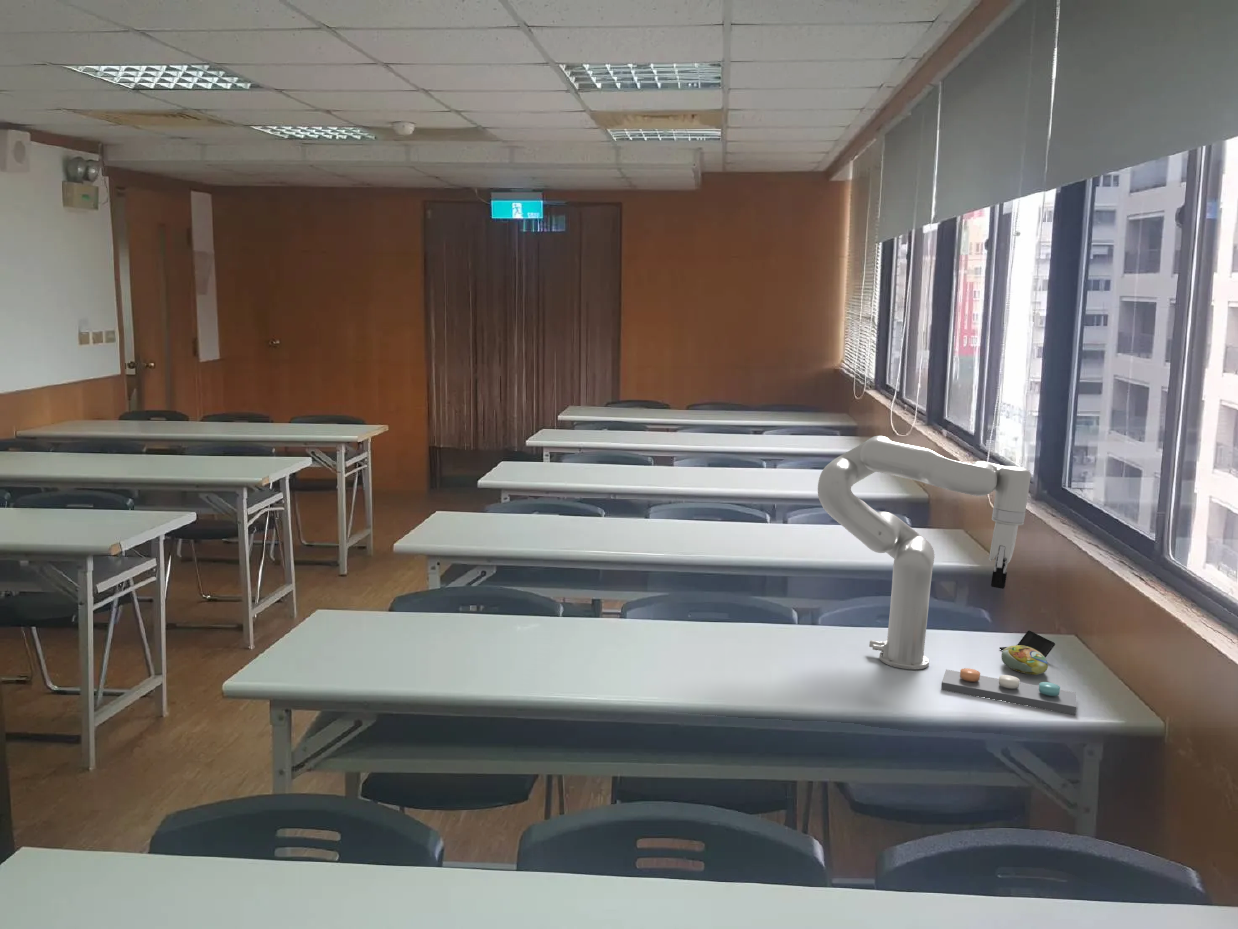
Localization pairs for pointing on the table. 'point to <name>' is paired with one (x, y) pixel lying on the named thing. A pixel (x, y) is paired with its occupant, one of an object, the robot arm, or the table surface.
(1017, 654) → the cell model
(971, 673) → the button terracotta
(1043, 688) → the button teal
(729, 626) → the table surface
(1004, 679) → the button ivory
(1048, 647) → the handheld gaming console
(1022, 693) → the button panel
